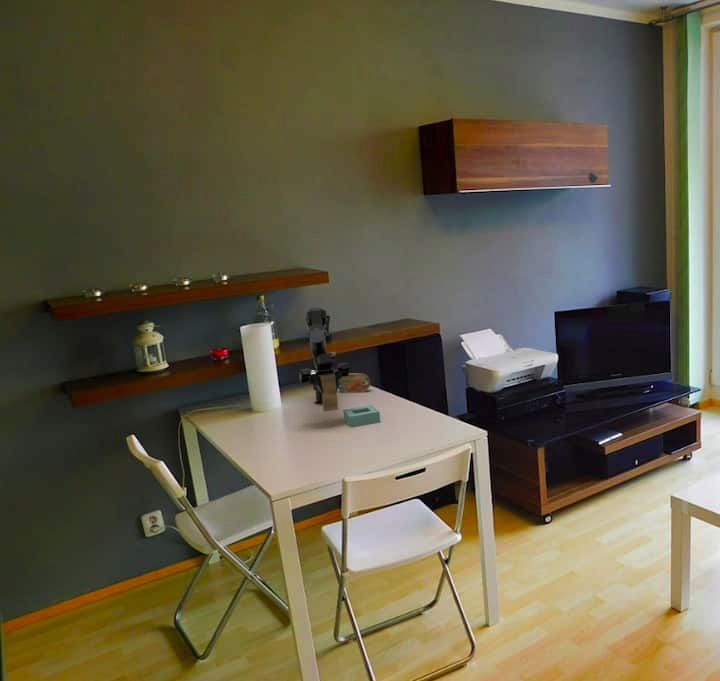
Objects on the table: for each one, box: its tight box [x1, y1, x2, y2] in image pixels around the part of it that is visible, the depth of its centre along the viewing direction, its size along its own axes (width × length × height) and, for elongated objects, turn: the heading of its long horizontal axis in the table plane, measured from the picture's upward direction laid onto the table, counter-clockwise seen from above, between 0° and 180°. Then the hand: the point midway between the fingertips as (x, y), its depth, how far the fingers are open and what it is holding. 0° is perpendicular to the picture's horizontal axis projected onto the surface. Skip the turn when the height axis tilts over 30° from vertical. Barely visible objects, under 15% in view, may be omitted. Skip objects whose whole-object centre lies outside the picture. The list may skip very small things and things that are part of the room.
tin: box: [338, 372, 371, 394], centre depth 271 cm, size 15×3×8 cm, turn 76°
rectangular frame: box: [342, 404, 381, 428], centre depth 230 cm, size 10×12×4 cm
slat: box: [320, 374, 339, 413], centre depth 225 cm, size 3×5×13 cm, turn 106°
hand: (329, 392), depth 223 cm, fingers closed on slat, 5 cm apart
